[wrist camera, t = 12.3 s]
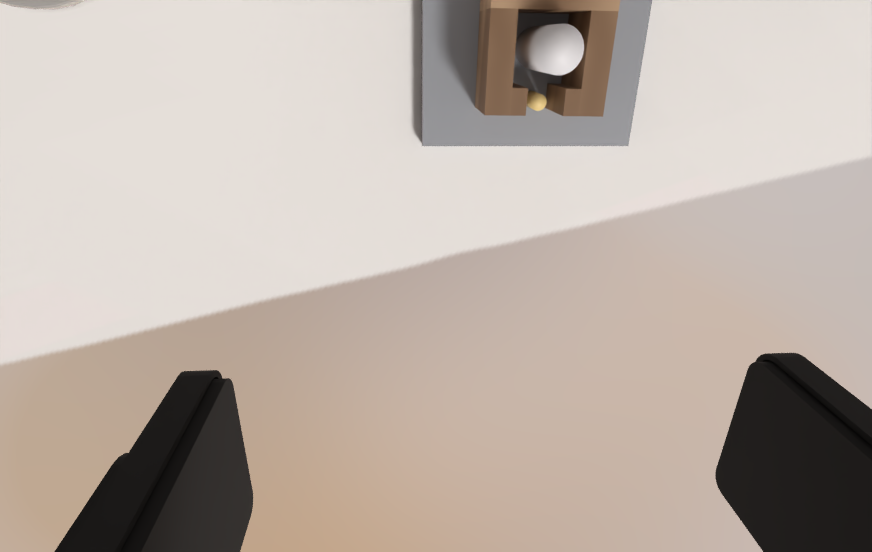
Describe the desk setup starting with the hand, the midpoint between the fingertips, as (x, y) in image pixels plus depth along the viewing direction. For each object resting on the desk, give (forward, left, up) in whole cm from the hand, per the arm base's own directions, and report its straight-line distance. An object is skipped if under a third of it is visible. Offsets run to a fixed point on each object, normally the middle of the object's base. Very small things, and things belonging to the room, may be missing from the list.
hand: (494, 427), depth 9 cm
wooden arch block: (+7, +6, -27) cm, 29 cm away
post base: (+7, +6, -28) cm, 30 cm away
